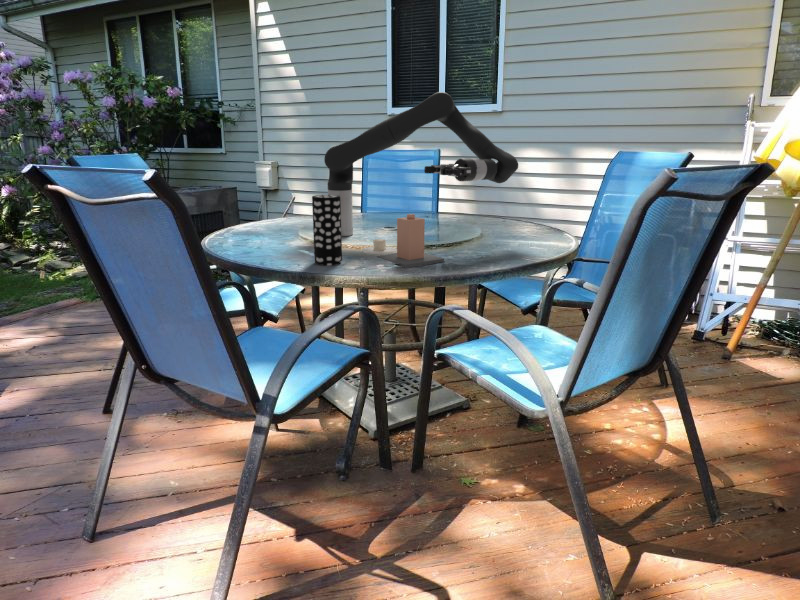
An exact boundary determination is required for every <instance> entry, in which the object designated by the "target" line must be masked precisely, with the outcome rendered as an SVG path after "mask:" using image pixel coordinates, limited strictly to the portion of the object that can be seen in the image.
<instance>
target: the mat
mask: <svg viewBox="0 0 800 600" xmlns="http://www.w3.org/2000/svg"><path fill="white" fill-rule="evenodd" d="M376 257H377V258H380V259H383V260H386V261H390V262H393V263H394V265H395V266H398V267H401V268H404V269H408V268H413V267H420V266H426V265H432V264H439V263H445V258H443V257H440V256H436V255H432V254H429V253H426V252H424V258H418V259H412V260H407V259H403V258H400V257H397V252H394V253H387V254H379V255H377V256H376Z"/></svg>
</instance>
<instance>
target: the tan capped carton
mask: <svg viewBox="0 0 800 600" xmlns="http://www.w3.org/2000/svg"><path fill="white" fill-rule="evenodd" d="M396 221H397V222H396V249H397V251H396V253H397V257H400V258H403V259H407V260H412V259H418V258H424V253H425V230H426V229H425V226H426V225H425V224H426V223H425V221H426V220H425V218H423V217H422V218H421V217H416V214H415V213H407V214H406V217H397V218H396Z"/></svg>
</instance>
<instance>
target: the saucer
mask: <svg viewBox="0 0 800 600" xmlns="http://www.w3.org/2000/svg"><path fill="white" fill-rule="evenodd" d="M372 243H373V246H368V247H364V248H362V249H361V252H362V253H364V254H365V253H366V254H373V255H377V254H378V255H387V254H394V253H397V247H391V246H386V244H387V243H386V239H381V238H379V239H373V242H372Z"/></svg>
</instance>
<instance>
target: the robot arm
mask: <svg viewBox="0 0 800 600" xmlns="http://www.w3.org/2000/svg"><path fill="white" fill-rule="evenodd" d="M435 121H438V122H440V123H441V124H443V125H444V126H446V127H447V128H448V129H450V131H452V132H453V133H454V134H455V135H456V136H457V137H458V138H459V139H460V140H461V141H462V143H464V145H466V147H467V148H468V149H469V150H470V151H471V152H472V153H473V154H474V155H475V156H476V157H477V158H475V157H474V158H461V157H460V158H459V159H457V160H456V161H455V163H447V164H446V163H445V164H444V163H443V164H436V165H435V164H432V165H431V164H430V165H428V166H427V165H425V166H424V168H423V169H424V173H425V174H434V175H435V174H439V176H448V177H454V178H455V180H456V181H458V182H475V181H483V180H484V181H485V180H488V181H491V182H494V183H495V184H496V183H497V184H502V183H506V182H507V181H508V180H509V179H510V178H511V177H512V176H513V174H515V173H516V171H517V170H518V168H519V162H518V160H517V158H516V157H515V155H512V154H510V153H509V152H507V151H505V150H503V149H502V148H500V147H499V146H496V144H495V143H494V142H492V140H491V139H489V138H488V137H487V136H486V135H485V134H484V133H483V132H482V131H480V130H479V129H478V128H477V127H476V126H475V125H473V124H472V123H471V122H470V121H469V120H468V119H466V117H465V116H464V115H463V114H462V113H461V111H460V110H459V108H458V107H457V106H456V105H455V101H454V100H453V97H452V96H451V95H450V94H449V93H447V92H444V91H437V92H435V93H433V94H432V95H430V96H428V97H427V98H426V99H424V100H422V101H421V102H419V103H418V104H417V105H415V106H413V107H411V108H409V109H407V110H404V111H402V112H400V113H398V114H396V115H393V116H391V117H389V118H387V119H385V120H383V121H381V122H379V123H378V124H375V125H373V126H372V127H370V128H369V129H367V130H365V131H364V132H363V133H360V134H359V135H358V136H356V137H354V138H352V139H350V140H349V141H345V142H342V143H340V144H338V145H335V146H332V147H330V148H329V149H328V150H327V151H326V152H325V155H324V164H325V167H326V168H328V171H329V173H328V181H327V195H338V196H340V201H341V237H348V236H353V235H354V223H353V220H354V219H353V180H354V163H355V162H357V161H359V160H361V159H362V158H365V157H367V156H370V155H373V154H376V153H379V152H382V151H385V150H387V149H389V148H391V147H393V146H395V145H397V144H399V143H401V142H402V141H404V140H406V139H407V138H408V137H410V136H411V135H412V134H413V133H414V132H416V131H417V130H418V129H420V128H422V127H423V126H425V125H428V124H430V123H432V122H435ZM495 160H496V161H495Z"/></svg>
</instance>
